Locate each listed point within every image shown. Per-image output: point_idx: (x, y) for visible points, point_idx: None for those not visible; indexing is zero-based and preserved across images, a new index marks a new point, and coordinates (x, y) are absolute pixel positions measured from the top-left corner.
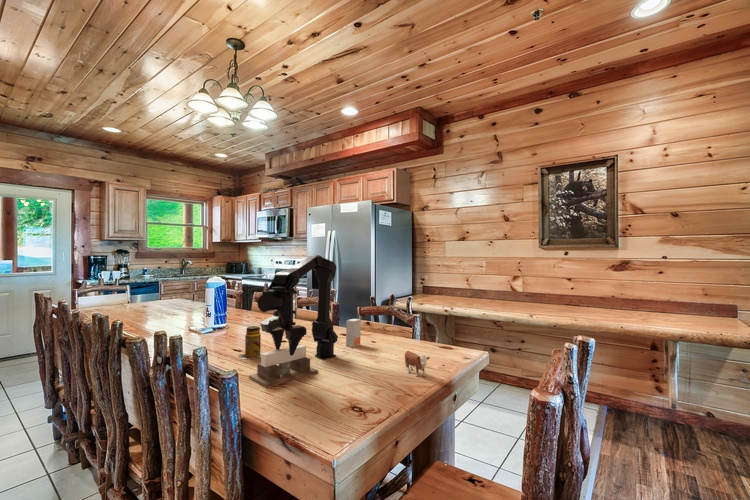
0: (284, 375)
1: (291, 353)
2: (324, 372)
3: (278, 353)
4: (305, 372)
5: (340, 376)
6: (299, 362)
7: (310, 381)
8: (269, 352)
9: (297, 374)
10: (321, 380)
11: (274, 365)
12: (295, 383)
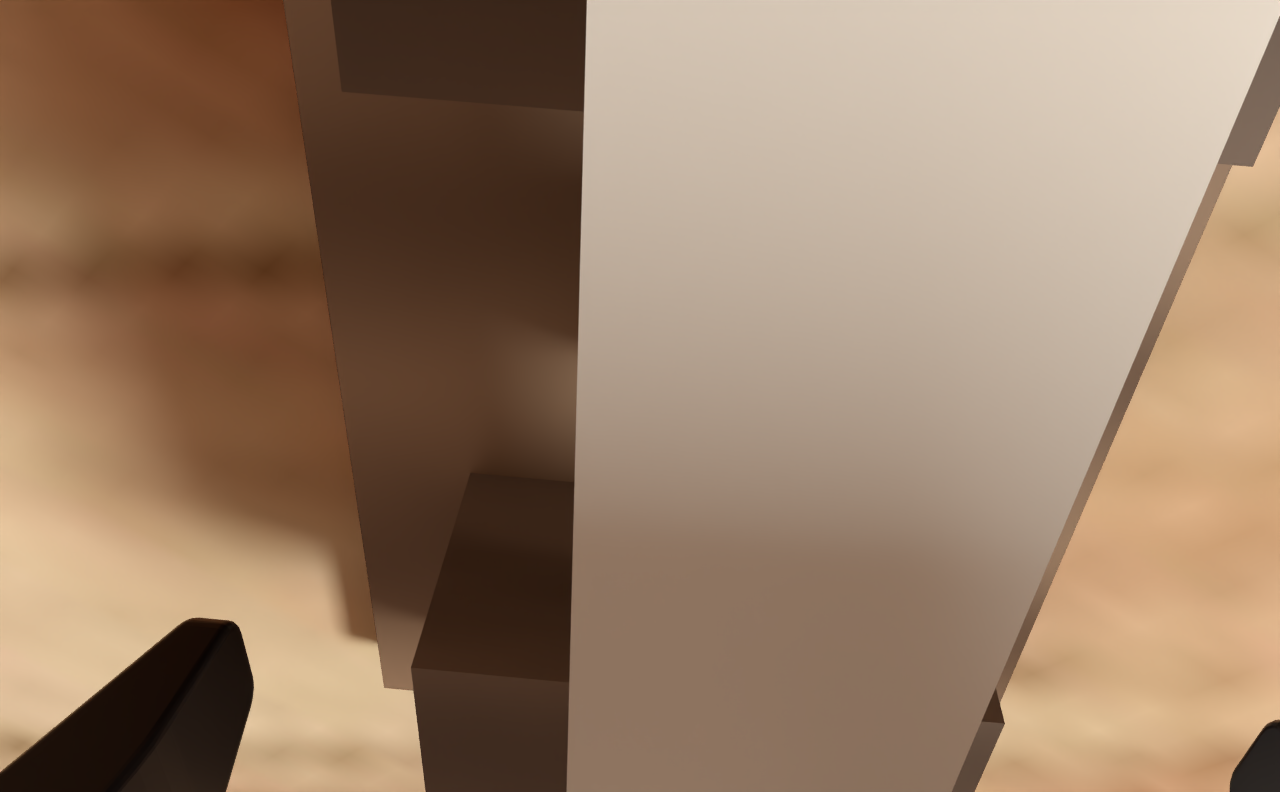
0: (550, 171)
1: (130, 689)
2: (347, 699)
3: (580, 447)
4: (406, 523)
5: (48, 710)
6: (468, 636)
7: (68, 363)
8: (958, 160)
9: (408, 381)
10: (20, 491)
11: (579, 7)
12: (113, 118)
